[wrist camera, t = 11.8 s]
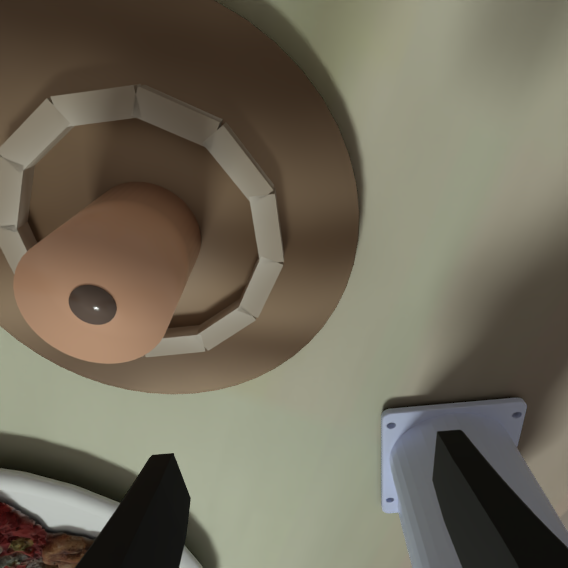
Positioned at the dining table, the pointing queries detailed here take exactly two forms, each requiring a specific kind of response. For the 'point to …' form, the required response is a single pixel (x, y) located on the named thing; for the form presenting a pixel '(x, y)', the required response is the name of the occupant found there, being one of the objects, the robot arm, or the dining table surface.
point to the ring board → (179, 174)
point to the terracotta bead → (110, 274)
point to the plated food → (52, 522)
